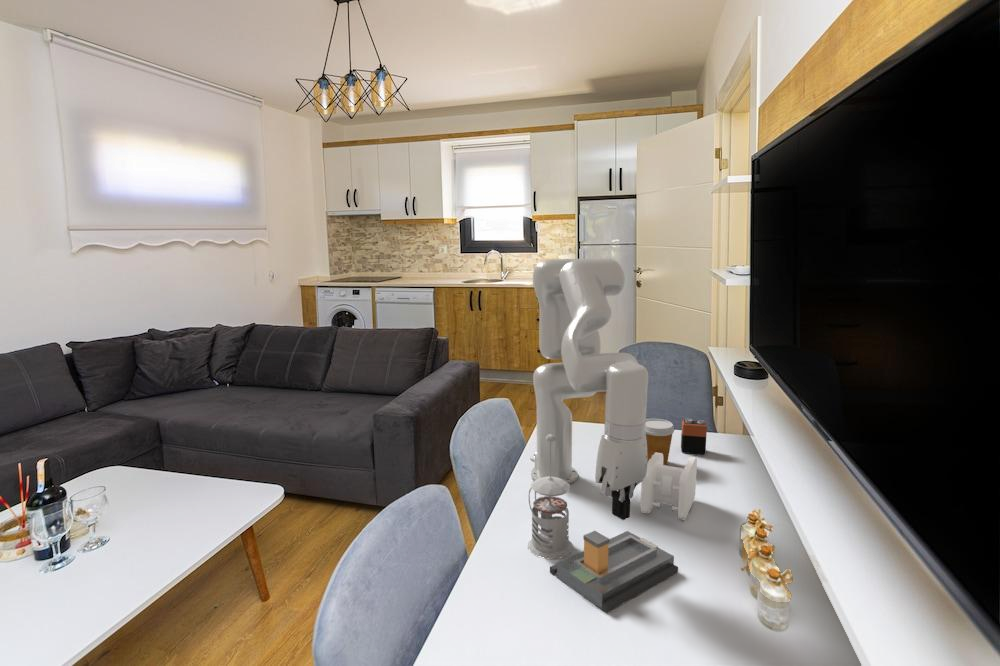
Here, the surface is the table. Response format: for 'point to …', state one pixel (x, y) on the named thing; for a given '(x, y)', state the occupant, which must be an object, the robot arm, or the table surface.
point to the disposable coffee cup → (658, 437)
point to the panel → (615, 568)
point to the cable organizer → (669, 485)
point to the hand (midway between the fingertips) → (620, 515)
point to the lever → (596, 551)
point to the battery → (693, 436)
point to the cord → (553, 569)
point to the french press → (550, 517)
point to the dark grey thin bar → (639, 588)
